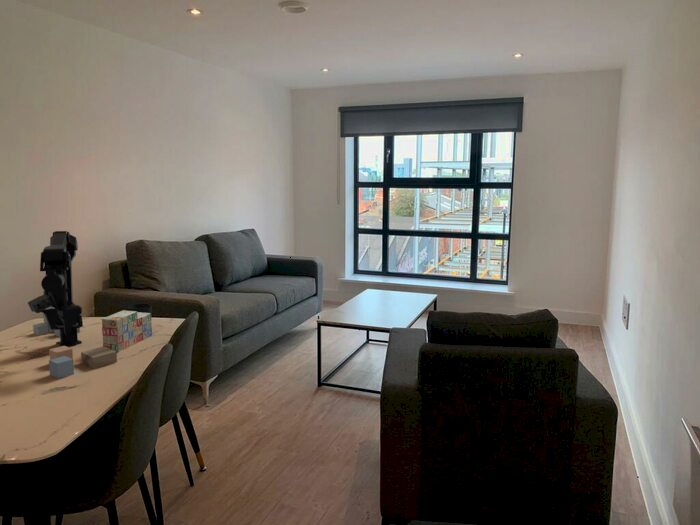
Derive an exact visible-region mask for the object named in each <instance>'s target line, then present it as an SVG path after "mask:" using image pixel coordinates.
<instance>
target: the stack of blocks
mask: <svg viewBox="0 0 700 525" xmlns="http://www.w3.org/2000/svg"><path fill="white" fill-rule="evenodd" d="M152 324H153V323H152V312H151V313H141V312H137V311H127V310H125V309H124V310H120V311H118V312H115V313H113V314H110V315H108V316H105V317H103V318H101V325H102V326H101V335H102V347H106V348H109V349H111V350H114V351H116V352H117V353H120V352H122V351H124V350H126V349H128V348H130V347H133V346H134V345H136V344H138V343H139V342H141V341H144V340H145V339H147V338H149V337H152V335H153V329H152V328H153V325H152Z"/></svg>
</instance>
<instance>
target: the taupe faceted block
mask: <svg viewBox="0 0 700 525" xmlns="http://www.w3.org/2000/svg"><path fill="white" fill-rule="evenodd" d="M117 353H118V352H116V351H114V350H111V349H109V348H106V347H103V346H102V347H97V348H92V349H89V350H86V351H81V352H80V354H81V355H80V357H81V364H83V365H85V366H88V367H89V368H92V369H97V368H102V367H105V366H108V365H111V364H116V363H117V362H118V354H117Z"/></svg>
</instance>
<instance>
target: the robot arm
mask: <svg viewBox="0 0 700 525" xmlns="http://www.w3.org/2000/svg"><path fill="white" fill-rule="evenodd" d="M49 239H50V241H49V244H50V245H47V246H45V247H44V248H43V250H42V251H41V252H40V265H39V272H45V276H44V277H43V278H42V279H41V283H40V284H41V288H42V289H43V294H42V295H40V296H37V297H35V298H34V299H31V300H29V301H27V305H28V307H29V308H30V310H31V313H33V312H34V313H36V314H39V313H41V314H42V315H43V314H44V315H45V317H46V319H47V321H48V324H49V326H50V329H51V330H53V329H55V330H58V329H60V337H59V341H56V343H55V344H56V345H58V346H60V347H61V346H66V347H70V346H73V345H78V344H82V343H83V341H81V340H79V339H78V333H77V328H80V329H81V328H82V327H84V326H83V324H84V323H83V315H82V314H83V308H82V306H80V305H78V304H76V303H75V302H74V298H73V297H74V294H73V271H72V270H73V269H72V267H73V266H72V264H73V263H72V262H73V261H74V259H75V257H76V255H77V251H78V250H79V249H78V248H79V247H78V246H79V245H78V239H77V237H76V236H74V235H72V234H70V231H68V230H56V231H55V230H54V231H52V236H50V237H49Z"/></svg>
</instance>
